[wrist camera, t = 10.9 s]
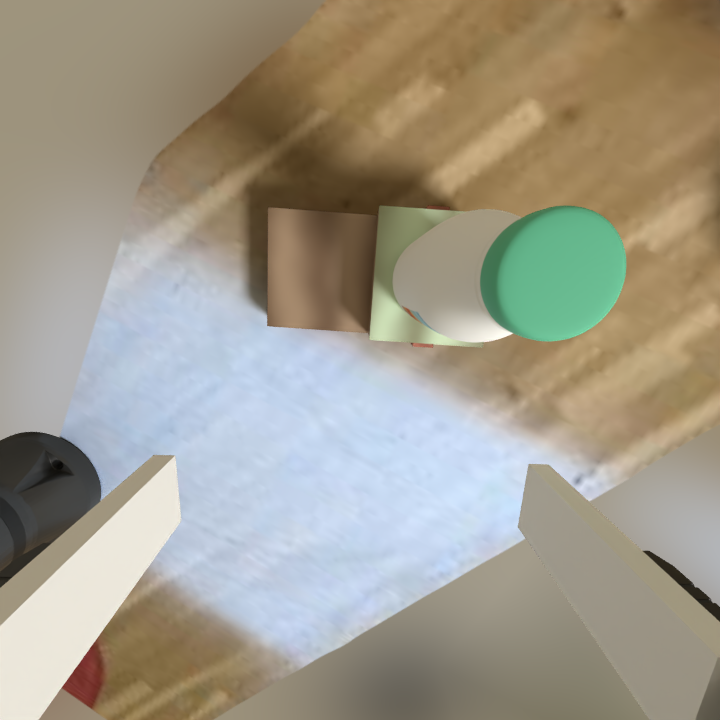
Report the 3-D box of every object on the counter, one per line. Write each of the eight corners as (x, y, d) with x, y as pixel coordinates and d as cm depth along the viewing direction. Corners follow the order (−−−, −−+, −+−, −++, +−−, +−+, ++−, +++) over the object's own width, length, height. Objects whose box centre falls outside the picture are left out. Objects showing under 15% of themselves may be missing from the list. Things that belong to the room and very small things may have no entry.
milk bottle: (374, 282, 31) (400, 281, 11) (434, 216, 29) (583, 87, 10) (432, 338, 32) (547, 427, 12) (492, 278, 31) (726, 271, 11)
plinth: (276, 326, 40) (254, 338, 32) (277, 209, 37) (254, 188, 29) (457, 339, 40) (481, 353, 32) (473, 223, 37) (504, 207, 29)
